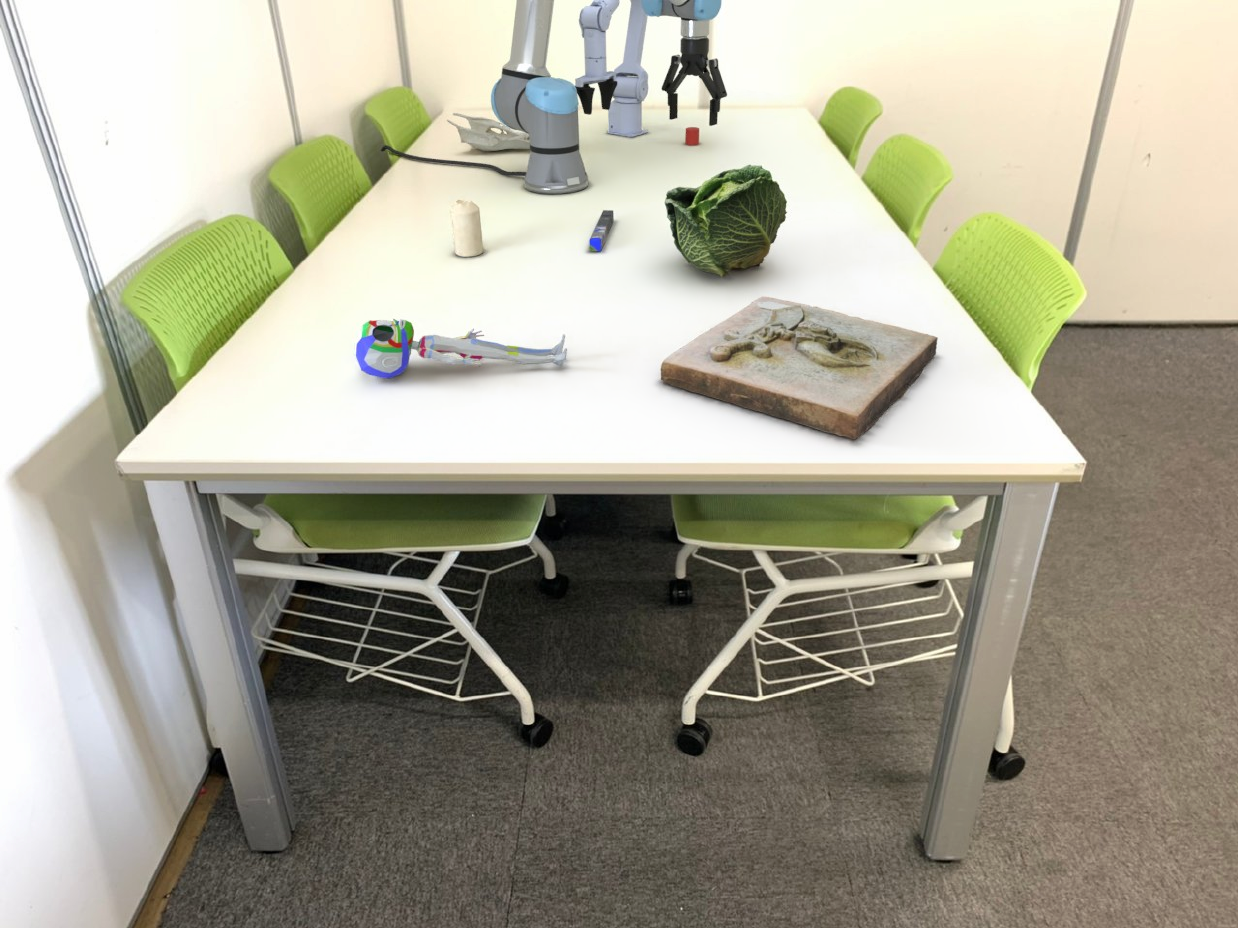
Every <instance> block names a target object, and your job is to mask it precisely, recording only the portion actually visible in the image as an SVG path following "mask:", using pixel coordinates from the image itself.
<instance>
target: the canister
mask: <svg viewBox="0 0 1238 928" xmlns="http://www.w3.org/2000/svg"><path fill="white" fill-rule="evenodd" d="M684 142H685V145H686V146H698V145H699V144H700V128H699V127H697V126H689V127H686V128H685V139H684Z"/></svg>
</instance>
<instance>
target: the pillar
mask: <svg viewBox="0 0 1238 928" xmlns="http://www.w3.org/2000/svg"><path fill="white" fill-rule="evenodd" d="M614 216H615V215H614V210H613V209H612V210H611V209H602V212H601V214H600V216H599V219H598V221H597V222H596V225H595V227H594V229H593V231H592V234H591V236H590V237H589V241H588V243H589V244H588V245H589V246H588V247H589V248H588V250H589V252H601V251H602V249H603V247H604V245H605V242H606V239H607V237H608V235H609V232H610V231H611V228H612V226H613V223H614Z"/></svg>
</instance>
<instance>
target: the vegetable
mask: <svg viewBox="0 0 1238 928" xmlns="http://www.w3.org/2000/svg"><path fill="white" fill-rule="evenodd" d="M665 196H666V197H665V199H664V205H665V208H666V209H665V210H666V218H667V219H668V221H669V222H670V224H669V228H670V231H671V236H672V238H673V239H674V240H673V243H674V245H675V247H676V249H677V250H678V252H680V255H681V256H682V257H683V258H684V259H685V261H686V262H687V263H688V264H689V263H691V264H692V265H693V266H694V267H695V268H696V269H699V270H700V271H702V272H704V273H708V274H714V275H715V274H716V275H718V276H719V277H721V278H723V277H724V276H730V274H729V273H728V272H729V271H732V270H734V269H740V268H742V269H747V268H748V267H754V268H756V267H757V268H760V266H761V264H763V263H764V261H765V258H766V257H767V256H768V255H769V253H770V250H771V245H772V244H774V243H775V241H776V239H777V236H778V235H777V234H778V231H779V229H780V227H781V225H782V224H783V223H784V222H786V218H787V216H786V214H787V213H788V211H787V203H788V201H787V199H786V196H785V194H784V192H783V191H782V189H781V188H780V184H779V183H778V181H777V180H774V179H773V176H772V173H771V171H770V170H768V169H765V168H763V165H755V164H754V165H751V164H748V165H745V166H743V167H742V168H732V169H729V170H723V171H721V172H720V173H718V174H716V175H714V176H713V177H711V178H709V179H707V180H704V181H703V182H702V184H701V185H700V186H698V187H684V186H677V187H674V188H672V189H670V190H668V191H667V192H666V194H665Z"/></svg>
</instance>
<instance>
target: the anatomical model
mask: <svg viewBox="0 0 1238 928" xmlns="http://www.w3.org/2000/svg"><path fill="white" fill-rule="evenodd" d="M452 116H455V117H460V118H463V119H465V120H467V121H468V124H469V126H470V128H469V127H464V126H462V125H458V124H456V123H454V122H453V121H451V120H449V119H446V122H447V123H449V124H451V125H452V126H454V127H456V129H457V132H458V135H459V138H460V143H463V144H464V143H465V144H468V145H470V146H471V147H472V148H474V149H478V150H479V151H482V152H498V151H502V150H507V149H508V150H510V149H519V150H520V149H522V150H530V142H529V134H528V133H525V132H522V131H520V132H519V131H515V130H514V131H513V129H511V128H509V127H508V126H506V125H504V124H503V123H502V122H500V121H498V120H495V119H492V118H488V117H484V116H483V117H482V116H470V115H466V114H463V113H458V112H453V113H452ZM493 129H497V130H499V131H501V132H496V131H494V130H493Z"/></svg>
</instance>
